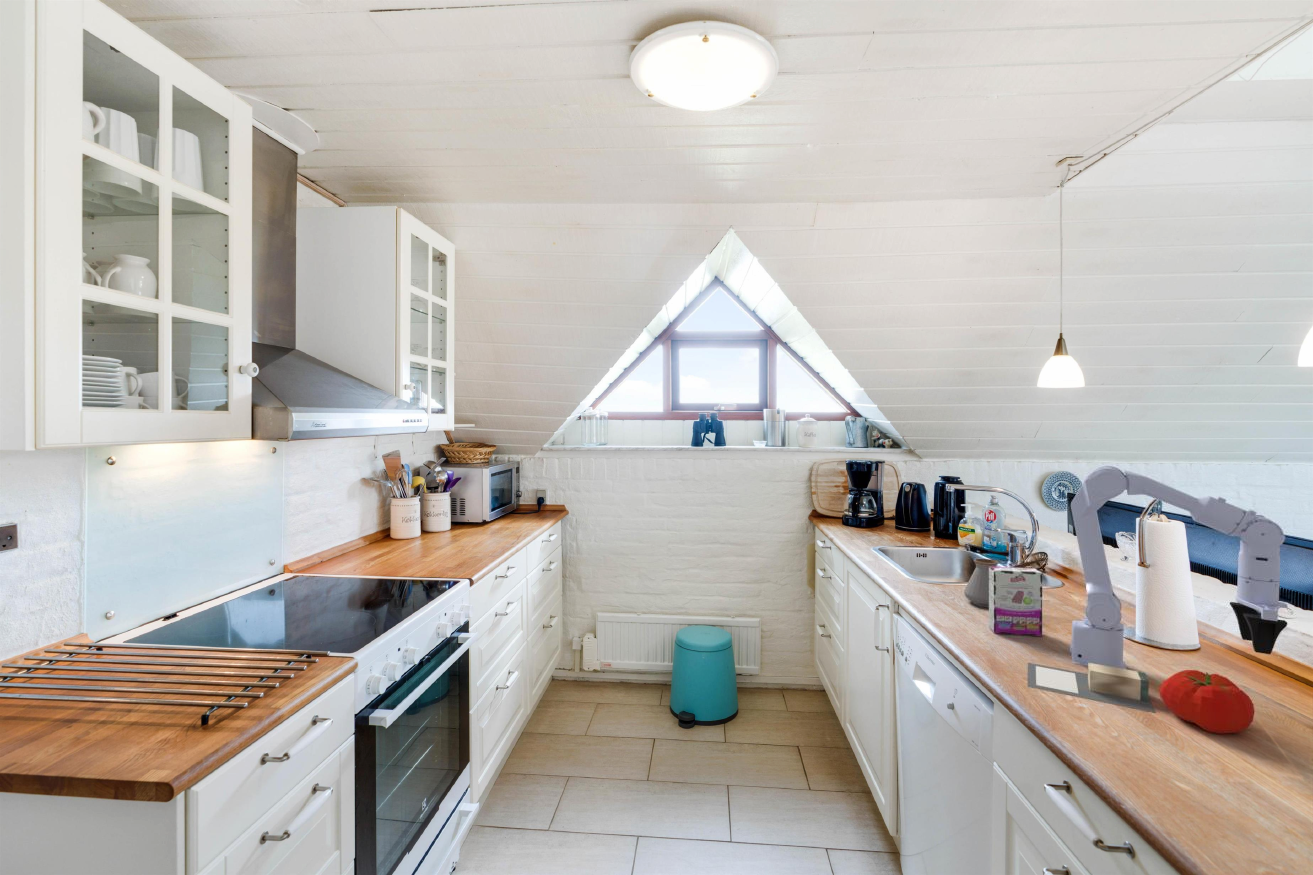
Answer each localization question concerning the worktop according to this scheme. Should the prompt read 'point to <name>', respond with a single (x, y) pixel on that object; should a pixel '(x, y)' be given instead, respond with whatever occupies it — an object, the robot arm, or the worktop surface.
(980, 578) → the coffee pot
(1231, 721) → the tomato
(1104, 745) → the worktop surface
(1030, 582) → the candy bar box
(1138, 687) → the green and cream block
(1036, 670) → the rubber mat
